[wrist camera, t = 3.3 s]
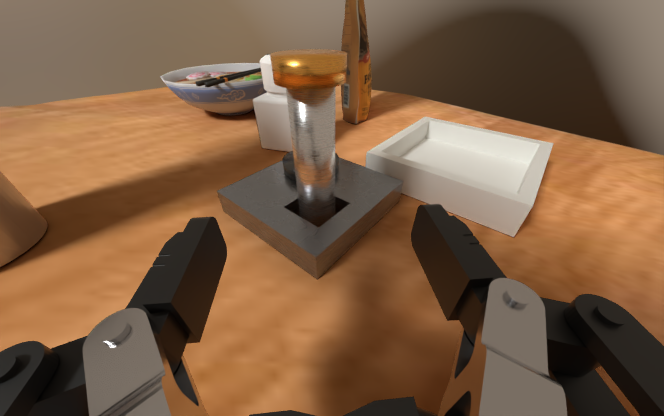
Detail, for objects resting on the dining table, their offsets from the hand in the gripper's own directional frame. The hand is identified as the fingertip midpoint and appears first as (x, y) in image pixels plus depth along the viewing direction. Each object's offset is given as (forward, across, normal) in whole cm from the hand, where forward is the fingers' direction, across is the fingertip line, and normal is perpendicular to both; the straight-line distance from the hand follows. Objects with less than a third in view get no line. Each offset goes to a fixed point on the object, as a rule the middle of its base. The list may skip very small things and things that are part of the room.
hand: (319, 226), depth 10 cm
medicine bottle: (+30, +3, +9) cm, 32 cm away
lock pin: (+10, 0, +9) cm, 14 cm away
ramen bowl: (+49, +16, +9) cm, 52 cm away
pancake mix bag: (+45, -9, +9) cm, 47 cm away
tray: (+18, -17, +9) cm, 27 cm away
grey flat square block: (+13, 0, +9) cm, 16 cm away
